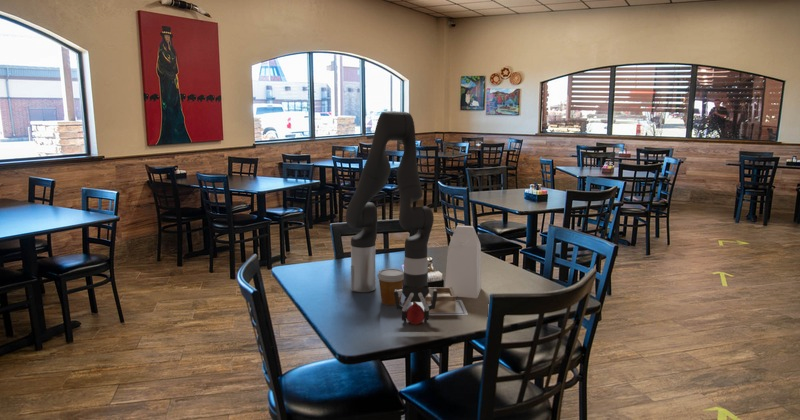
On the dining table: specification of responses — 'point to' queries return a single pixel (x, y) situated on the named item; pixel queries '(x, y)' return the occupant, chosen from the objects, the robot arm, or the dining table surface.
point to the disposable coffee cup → (390, 284)
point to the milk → (464, 263)
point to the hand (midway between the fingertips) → (415, 321)
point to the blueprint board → (459, 310)
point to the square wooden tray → (443, 300)
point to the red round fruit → (415, 314)
